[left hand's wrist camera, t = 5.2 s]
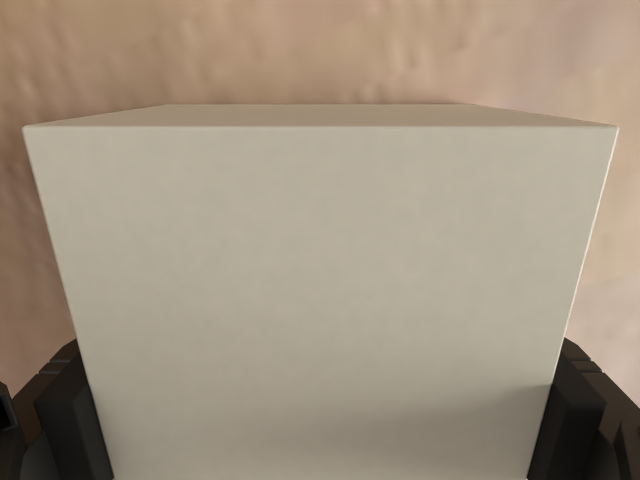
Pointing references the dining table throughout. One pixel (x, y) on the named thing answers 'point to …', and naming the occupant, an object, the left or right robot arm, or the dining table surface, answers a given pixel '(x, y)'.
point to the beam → (320, 282)
